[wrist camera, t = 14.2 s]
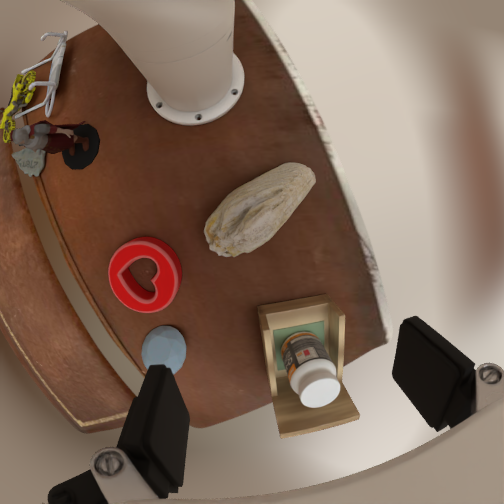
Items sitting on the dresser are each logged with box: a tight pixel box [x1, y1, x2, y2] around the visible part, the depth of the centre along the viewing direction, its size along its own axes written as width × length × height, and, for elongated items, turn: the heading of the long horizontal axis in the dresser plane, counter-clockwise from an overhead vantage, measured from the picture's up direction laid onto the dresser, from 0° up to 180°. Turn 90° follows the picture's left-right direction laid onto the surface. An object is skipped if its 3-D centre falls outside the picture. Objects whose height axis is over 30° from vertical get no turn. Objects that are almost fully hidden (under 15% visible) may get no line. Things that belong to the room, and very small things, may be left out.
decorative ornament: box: [108, 237, 182, 313], centre depth 33 cm, size 10×10×3 cm
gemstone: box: [142, 326, 186, 374], centre depth 36 cm, size 8×8×5 cm
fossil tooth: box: [204, 162, 316, 257], centre depth 29 cm, size 12×6×15 cm
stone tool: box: [12, 148, 45, 177], centre depth 28 cm, size 9×2×5 cm
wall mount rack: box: [15, 31, 68, 119], centre depth 24 cm, size 16×14×6 cm
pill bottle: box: [281, 332, 340, 408], centre depth 31 cm, size 6×6×10 cm
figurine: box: [10, 120, 100, 169], centre depth 22 cm, size 7×7×15 cm
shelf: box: [257, 294, 360, 439], centre depth 32 cm, size 12×10×14 cm
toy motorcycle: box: [0, 71, 36, 143], centre depth 24 cm, size 12×4×7 cm
